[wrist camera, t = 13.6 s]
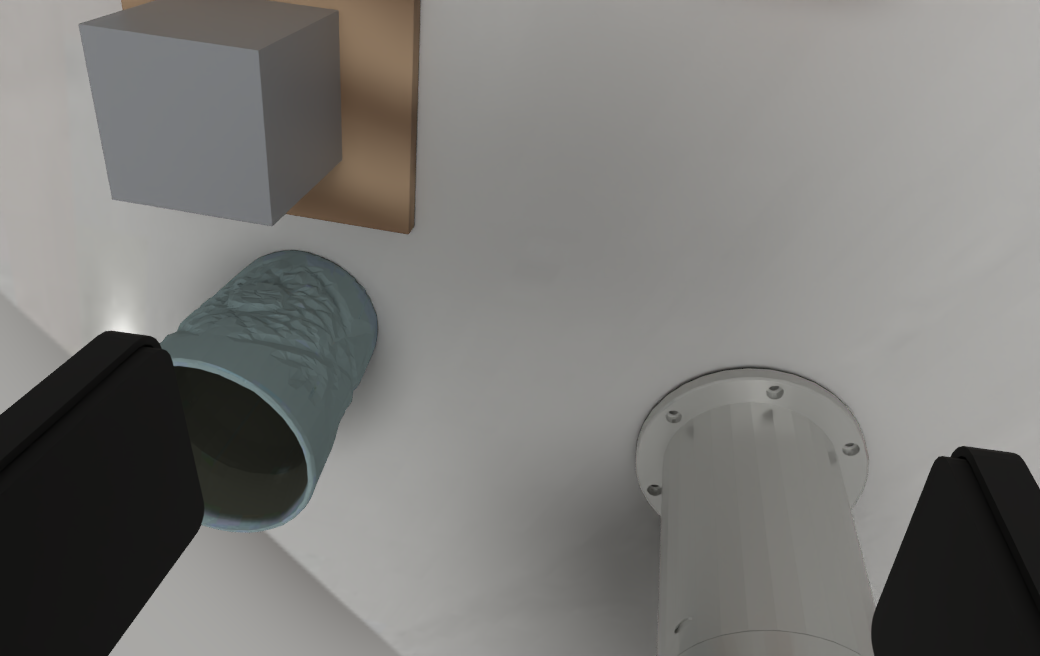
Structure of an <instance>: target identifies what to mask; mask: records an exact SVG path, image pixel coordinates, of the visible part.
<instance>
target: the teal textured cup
mask: <svg viewBox="0 0 1040 656" xmlns="http://www.w3.org/2000/svg"><path fill="white" fill-rule="evenodd" d="M377 330H378V328H377V315H376V313H375V310H374V308H373V305H372V303H371V301H370V298H369V297H368V296H367V295H366V290H365V289H364V288H363V287H362V286H361V285H360V284H358V283H356V280H355V278H354V277H352V276H350V275H349V273H348V272H347V271H345V270H343V269H342V268H341V267H339V266H337V265H335V264H334V263H332V262H330V261H329V260H326V259H323V258H321V257H320V256H318V255H312V254H311V253H307V252H303V251H294V250H290V251H280V252H276V253H272V254H269V255H266V256H263V257H261V258H259V259H257V260H255V261H254V262H253V263H251V264H250V265H249V266H247V267H246V268H245V269H243V270H242V271H241V272H240V273H239V274H238V275H237V276H235V277H234V278H233V279H232V280H231V281H230V282H229V283H228V284H227V285H226V286H224V287H223V288H222V289H220V290H219V291H218V292H217V294H215V295H214V296H213V297H212V298H209V299H208V300H207V301H205V302H204V303H203V304H202V305H201V306H200V307H199V308H198V309H197V310H195V311H194V312H193V313H191V314H190V315H189V316H188V317H187V318H186V319H185V320H184V321H183V322H182V323H181V324H180V326H179V328H178V330H177V332H175V333H173V334H170V335H167V336H166V337H165V339H164V340H163V341H162V342H161V343H160V346H161V348H162V349H164V350H166V351H168V353H169V354H170V355H171V358H172V361H173V366H174V370H175V375H176V379H177V384H178V388H179V393H180V397H181V402H182V406H183V411H184V415H185V420H186V424H187V429H188V433H189V437H190V442H191V446H192V451H193V455H194V460H195V464H196V469H197V473H198V478H199V482H200V487H201V491H202V496H203V500H204V508H205V509H204V517H203V521H202V524H201V525H203V526H207V527H211V528H214V529H218V530H224V531H230V532H259V531H264V530H268V529H272V528H276V527H278V526H281V525H284V524H285V523H287V522H288V521H290V520H291V519H293V518H295V517H296V516H297V515H298V514H299V513H300V512H301V511H302V510H303V509H304V508H305V507H306V505H307V504H308V502H309V500H310V499H311V497H312V494H313V492H314V489H315V487H316V484H317V482H318V479H319V477H320V474H321V472H322V470H323V468H324V465H325V463H326V461H327V458H328V456H329V454H330V452H331V449H332V446H333V443H334V440H335V437H336V433H337V429H338V425H339V423H340V420H341V418H342V417H343V415H344V413H345V410H346V409H347V407H348V406H349V405H350V403H351V402H352V395H353V390H355V389H356V388H357V386H358V385H359V383H360V381H361V379H362V377H363V374H364V372H365V370H366V368H367V365H368V363H369V361H370V358H371V356H372V354H373V351H374V348H375V345H376V340H377Z"/></svg>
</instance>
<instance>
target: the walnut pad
mask: <svg viewBox="0 0 1040 656" xmlns="http://www.w3.org/2000/svg"><path fill="white" fill-rule="evenodd" d="M152 1H155V0H121V2H122V8H123V10H126V9H129V8H132V7H135V6H139V5H142V4H145V3H148V2H152ZM269 1H276V2H283V3H291V4H298V5H305V6H312V7H319V8H326V9H333V10H339V45H340V85H341V126H342V161H341V162H340V163H338V164H337V165H336V166H335V167H334V168H333V169H332V170H331V171H330V172H329V173H328V174H327V175H326V176H325V177H324V178H323V179H322V180H321V181H319V182H318V183H317V184H316V185H315V186H314V187H313V188H312V189H311V190H310V191H309V192H308V193H307V194H306V195H305V196H304V197H303V198H301V199H300V200H299V201H298V202H297V203H296V204H295V205H294V206H293V207H292V208H291V209H290V210H289V211H288V212H287V213H286V214H289V215H295V216H301V217H307V218H313V219H319V220H325V221H331V222H337V223H343V224H349V225H355V226H361V227H367V228H373V229H379V230H385V231H391V232H397V233H403V234H409V233H410V232H411V230H412V229H413V227H414V212H415V176H416V140H417V104H418V68H419V33H420V0H269Z"/></svg>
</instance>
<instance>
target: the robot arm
mask: <svg viewBox="0 0 1040 656" xmlns="http://www.w3.org/2000/svg"><path fill="white" fill-rule="evenodd" d="M868 465H869V457H868V452H867V448H866V444H865V440H864V437H863V434H862V432H861V429H860V426H859V424H858V422H857V420H856V419H855V418H854V416H853V415H852V413H851V412H850V410H849V409H848V407H846V406H845V405H844V404H843V403H842V402H841V401H840V400H839V399H838V398H837V397H836V396H835V395H834V394H832V393H831V392H829V391H827V390H826V389H824V388H823V387H821V386H819V385H818V384H816V383H814V382H812V381H809V380H806V379H804V378H801V377H799V376H796V375H794V374H789V373H784V372H780V371H775V370H768V369H750V368H747V369H736V370H726V371H721V372H717V373H713V374H709V375H706V376H702V377H700V378H698V379H695V380H693V381H691V382H688V383H686V384H684V385H682V386H681V387H679V388H678V389H676V390H675V391H673V392H672V393H670V394H669V395H667V396H666V397H665V398H664V399H663V400H662V401H661V402H660V403H659V404H658V405H657V406H656V407H655V408H654V409H653V410H652V411H651V413H650V414H649V416H648V418H647V419H646V421H645V422H644V424H643V426H642V429H641V432H640V434H639V437H638V440H637V449H636V475H637V478H638V482H639V486H640V489H641V491H642V492H643V494H644V496H645V498H646V500H647V502H648V503H649V504H650V505H651V507H652V508H653V509H654V510H655V511H656V513H657V514H658V515H659V516H660V517H661V534H660V566H659V597H658V629H657V656H1040V489H1039V487H1038V485H1037V483H1036V481H1035V480H1034V478H1033V476H1032V474H1031V472H1030V471H1029V469H1028V467H1027V465H1026V464H1025V462H1024V461H1023V459H1022V458H1021V457H1020V456H1019V455H1017V454H1015V453H1010V452H1003V451H996V450H988V449H981V448H973V447H966V446H962V447H958V448H957V449H956V450H955V451H954V452H953V453H952V455H951V457H944V456H941V457H938V458H937V459H936V460H935V462H934V464H933V466H932V468H931V470H930V473H929V475H928V478H927V480H926V483H925V486H924V488H923V491H922V493H921V496H920V498H919V501H918V503H917V506H916V508H915V511H914V513H913V516H912V518H911V521H910V523H909V526H908V528H907V531H906V533H905V536H904V539H903V541H902V544H901V546H900V549H899V551H898V554H897V556H896V559H895V561H894V564H893V566H892V569H891V571H890V574H889V576H888V579H887V581H886V584H885V587H884V589H883V592H882V594H881V597H880V599H879V602H878V604H877V607H876V608H875V604H874V600H873V596H872V592H871V588H870V584H869V580H868V576H867V572H866V568H865V564H864V560H863V556H862V552H861V548H860V544H859V540H858V536H857V532H856V528H855V524H854V520H853V516H852V512H851V509H852V508H853V507H854V505H855V504H856V502H857V500H858V499H859V497H860V495H861V494H862V492H863V490H864V486H865V483H866V480H867V477H868ZM204 509H205V508H204V500H203V496H202V491H201V487H200V482H199V478H198V473H197V469H196V464H195V460H194V455H193V451H192V446H191V442H190V437H189V433H188V429H187V424H186V420H185V415H184V411H183V406H182V402H181V397H180V393H179V388H178V384H177V379H176V375H175V370H174V366H173V361H172V358H171V355H170V354H169V353H168V351H166V350H164V349H162V348H161V346H160V343H159V342H158V341H157V340H156V339H155V338H153V337H151V336H146V335H139V334H131V333H124V332H117V331H105V332H103V333H102V334H100V335H98V336H97V337H96V338H94V339H93V340H92V341H91V342H90V343H88V344H87V345H86V346H85V347H83V348H82V349H81V350H80V351H78V352H77V353H76V354H75V355H74V356H72V357H71V358H70V359H69V360H67V361H66V362H65V363H64V364H62V365H61V366H60V367H59V368H58V369H56V370H55V371H54V372H53V373H51V374H50V375H49V376H48V377H46V378H45V379H44V380H43V381H41V382H40V383H39V384H38V385H37V386H35V387H34V388H33V389H32V390H30V391H29V392H28V393H27V394H25V395H24V396H23V397H22V398H21V399H19V400H18V401H17V402H16V403H15V404H13V405H12V406H11V407H10V408H8V409H7V410H6V411H5V412H3V413H2V414H1V415H0V656H108V655H109V654H110V652H111V651H112V649H113V648H114V647H115V645H116V644H117V642H118V641H119V640H120V638H121V637H122V636H123V634H124V633H125V631H126V630H127V629H128V627H129V626H130V625H131V623H132V622H133V620H134V619H135V618H136V616H137V615H138V614H139V612H140V611H141V609H142V608H143V607H144V605H145V604H146V603H147V601H148V600H149V598H150V597H151V596H152V594H153V593H154V591H155V590H156V589H157V587H158V586H159V584H160V583H161V582H162V580H163V579H164V578H165V576H166V575H167V574H168V572H169V571H170V569H171V568H172V567H173V565H174V564H175V563H176V561H177V560H178V558H179V557H180V556H181V554H182V553H183V551H184V550H185V549H186V547H187V546H188V545H189V543H190V542H191V541H192V539H193V538H194V536H195V535H196V534H197V532H198V530H199V529H200V526H201V524H202V521H203V517H204Z"/></svg>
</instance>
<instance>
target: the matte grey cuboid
mask: <svg viewBox="0 0 1040 656" xmlns="http://www.w3.org/2000/svg"><path fill="white" fill-rule="evenodd" d="M79 29H80V35H81V40H82V45H83V50H84V55H85V60H86V66H87V71H88V76H89V81H90V86H91V92H92V97H93V102H94V107H95V112H96V117H97V123H98V128H99V133H100V138H101V143H102V149H103V154H104V159H105V164H106V169H107V175H108V180H109V185H110V190H111V195H112V199H113V200H119V201H125V202H131V203H137V204H143V205H149V206H155V207H161V208H166V209H172V210H178V211H184V212H190V213H196V214H202V215H208V216H214V217H220V218H226V219H232V220H238V221H244V222H250V223H255V224H261V225H267V226H273V225H274V224H275V223H276V222H277V221H278V220H279V219H280V218H281V217H282V216H284V215H285V214H286V213H287V212H288V211H289V210H290V209H291V208H292V207H293V206H294V205H295V204H296V203H297V202H298V201H299V200H300V199H301V198H303V197H304V196H305V195H306V194H307V193H308V192H309V191H310V190H311V189H312V188H313V187H314V186H315V185H316V184H317V183H318V182H319V181H321V180H322V179H323V178H324V177H325V176H326V175H327V174H328V173H329V172H330V171H331V170H332V169H333V168H334V167H335V166H336V165H337V164H338V163H340V162H341V161H342V126H341V85H340V45H339V10H333V9H326V8H319V7H312V6H305V5H298V4H291V3H283V2H276V1H269V0H155V1H152V2H148V3H145V4H142V5H139V6H135V7H132V8H129V9H126V10H122V11H119V12H116V13H113V14H109V15H106V16H103V17H100V18H97V19H93V20H90V21H87V22H84V23H80V24H79Z"/></svg>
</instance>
